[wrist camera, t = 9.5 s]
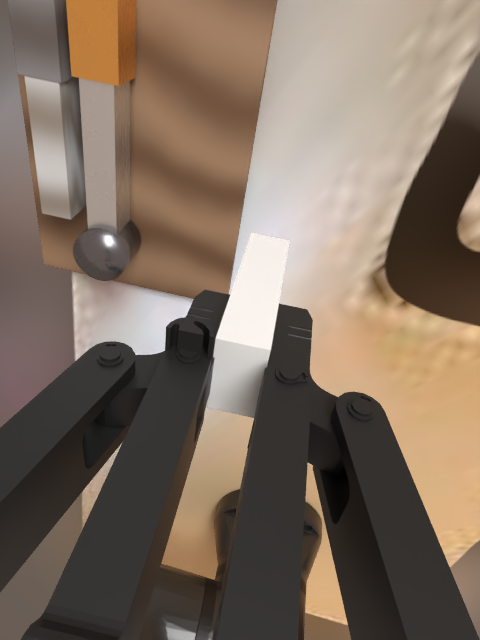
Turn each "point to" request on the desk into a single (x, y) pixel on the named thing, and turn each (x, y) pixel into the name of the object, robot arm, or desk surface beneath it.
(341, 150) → the desk surface
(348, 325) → the desk surface
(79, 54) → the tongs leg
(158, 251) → the board
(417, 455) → the desk surface
